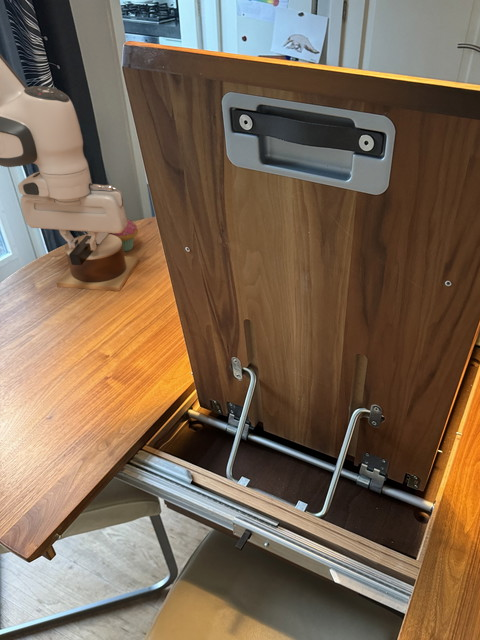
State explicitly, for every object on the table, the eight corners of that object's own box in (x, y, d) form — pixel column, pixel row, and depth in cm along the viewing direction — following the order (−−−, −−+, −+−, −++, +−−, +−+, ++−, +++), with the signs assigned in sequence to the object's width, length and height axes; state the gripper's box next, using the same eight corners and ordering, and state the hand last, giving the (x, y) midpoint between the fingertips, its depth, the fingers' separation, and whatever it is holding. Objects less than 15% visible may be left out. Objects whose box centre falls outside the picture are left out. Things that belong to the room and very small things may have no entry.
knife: (82, 265, 106) (79, 255, 104) (70, 264, 106) (67, 254, 104) (115, 226, 121) (113, 216, 119) (104, 225, 121) (102, 215, 119)
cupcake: (122, 237, 132) (114, 190, 124) (148, 245, 129) (140, 198, 121) (97, 250, 126) (87, 202, 119) (123, 259, 123) (114, 210, 115)
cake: (57, 286, 113) (48, 257, 108) (82, 257, 123) (75, 229, 119) (119, 291, 112) (113, 261, 107) (139, 261, 123) (134, 233, 118)
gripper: (125, 180, 101) (136, 245, 110) (25, 174, 103) (43, 239, 111) (114, 191, 96) (126, 259, 105) (9, 185, 98) (30, 252, 107)
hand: (83, 248), depth 108 cm, fingers closed
